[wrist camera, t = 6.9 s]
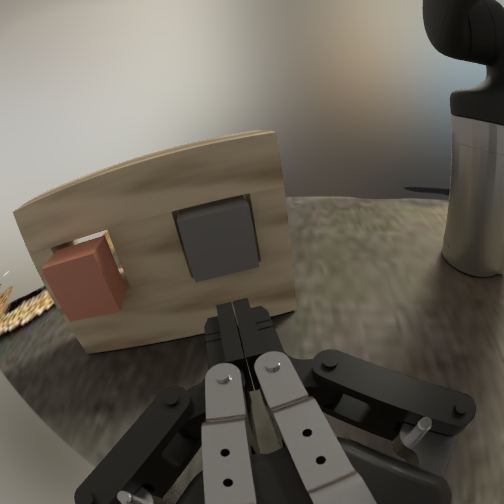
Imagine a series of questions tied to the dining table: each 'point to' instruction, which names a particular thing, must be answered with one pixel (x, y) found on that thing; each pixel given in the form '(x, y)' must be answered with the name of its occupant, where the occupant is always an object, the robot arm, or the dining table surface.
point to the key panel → (169, 236)
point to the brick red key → (86, 280)
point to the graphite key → (218, 238)
